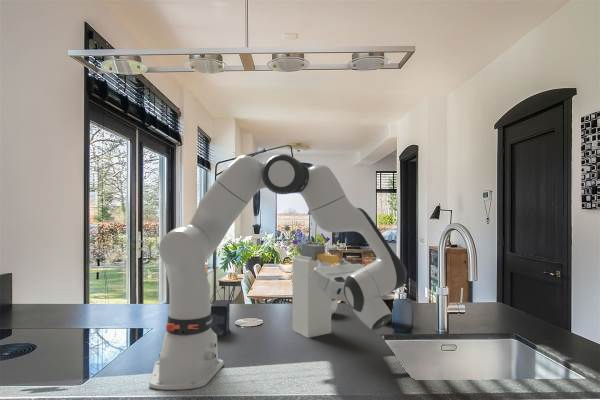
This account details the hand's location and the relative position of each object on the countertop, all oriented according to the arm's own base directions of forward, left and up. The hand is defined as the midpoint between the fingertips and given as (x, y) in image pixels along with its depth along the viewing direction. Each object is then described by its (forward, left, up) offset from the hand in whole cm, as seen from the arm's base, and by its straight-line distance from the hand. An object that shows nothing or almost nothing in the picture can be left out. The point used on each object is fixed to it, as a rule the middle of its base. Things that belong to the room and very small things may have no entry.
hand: (329, 260), depth 136 cm
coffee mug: (+21, -24, -27) cm, 42 cm away
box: (+9, +38, -27) cm, 47 cm away
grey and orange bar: (+5, +3, -1) cm, 6 cm away
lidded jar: (+33, -2, -27) cm, 42 cm away
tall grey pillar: (+9, +5, -27) cm, 29 cm away
